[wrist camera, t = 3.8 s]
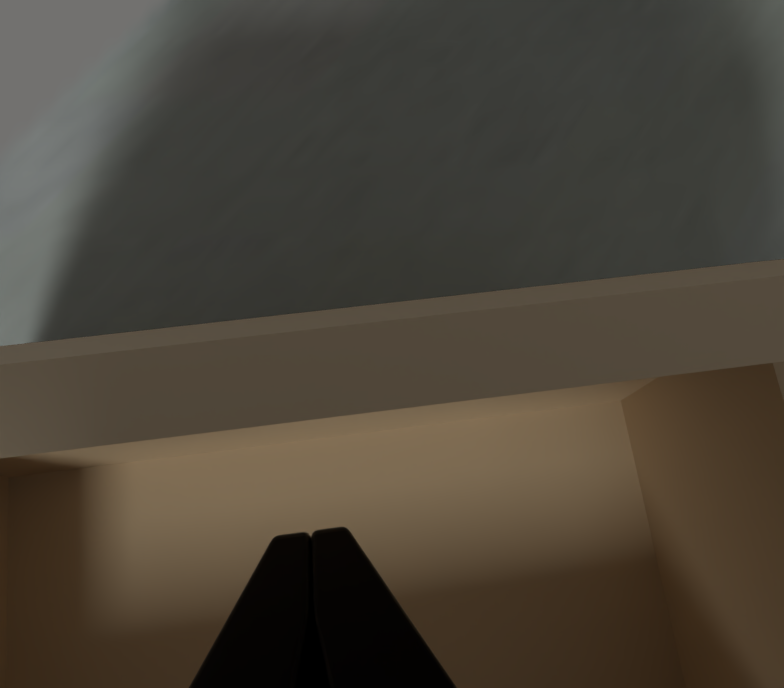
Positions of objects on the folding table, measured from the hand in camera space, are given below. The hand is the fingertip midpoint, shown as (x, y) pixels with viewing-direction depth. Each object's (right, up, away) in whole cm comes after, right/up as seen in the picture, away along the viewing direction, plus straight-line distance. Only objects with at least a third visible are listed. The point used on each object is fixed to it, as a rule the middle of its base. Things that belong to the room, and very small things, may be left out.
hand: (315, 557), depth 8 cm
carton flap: (0, +2, 0) cm, 2 cm away
